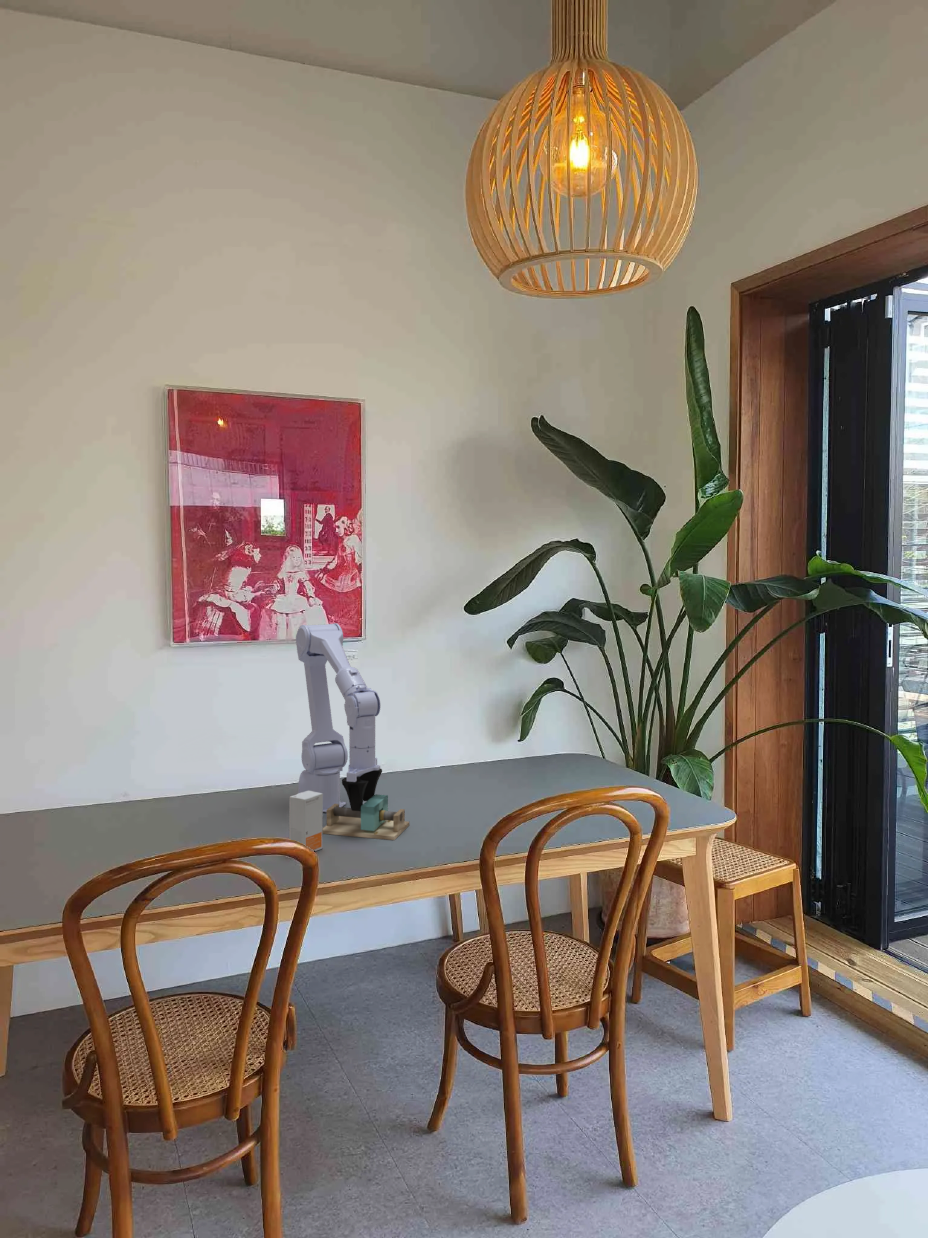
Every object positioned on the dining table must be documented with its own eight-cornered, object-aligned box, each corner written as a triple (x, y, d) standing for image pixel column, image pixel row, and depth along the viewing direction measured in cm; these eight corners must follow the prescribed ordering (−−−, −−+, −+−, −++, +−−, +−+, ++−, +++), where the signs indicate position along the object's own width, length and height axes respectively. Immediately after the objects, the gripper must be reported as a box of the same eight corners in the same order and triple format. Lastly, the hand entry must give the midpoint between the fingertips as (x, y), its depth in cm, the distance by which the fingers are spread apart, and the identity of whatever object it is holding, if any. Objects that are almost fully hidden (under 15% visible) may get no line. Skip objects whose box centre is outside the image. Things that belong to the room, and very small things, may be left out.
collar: (360, 829, 213) (360, 806, 212) (375, 817, 222) (375, 794, 221) (373, 831, 212) (373, 807, 211) (387, 818, 221) (387, 795, 221)
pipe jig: (320, 833, 214) (320, 813, 214) (338, 819, 225) (338, 799, 224) (394, 840, 210) (394, 819, 210) (409, 825, 221) (409, 805, 220)
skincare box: (304, 857, 199) (303, 799, 198) (288, 853, 201) (288, 796, 200) (323, 848, 204) (323, 793, 203) (308, 845, 206) (307, 789, 205)
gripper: (368, 754, 208) (368, 816, 209) (389, 740, 222) (389, 798, 223) (337, 752, 210) (337, 813, 211) (360, 738, 224) (360, 796, 225)
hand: (362, 805), depth 217 cm, fingers open, 7 cm apart
